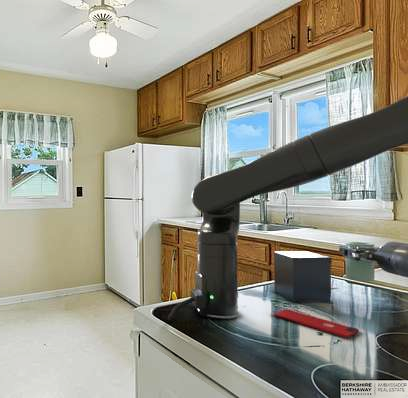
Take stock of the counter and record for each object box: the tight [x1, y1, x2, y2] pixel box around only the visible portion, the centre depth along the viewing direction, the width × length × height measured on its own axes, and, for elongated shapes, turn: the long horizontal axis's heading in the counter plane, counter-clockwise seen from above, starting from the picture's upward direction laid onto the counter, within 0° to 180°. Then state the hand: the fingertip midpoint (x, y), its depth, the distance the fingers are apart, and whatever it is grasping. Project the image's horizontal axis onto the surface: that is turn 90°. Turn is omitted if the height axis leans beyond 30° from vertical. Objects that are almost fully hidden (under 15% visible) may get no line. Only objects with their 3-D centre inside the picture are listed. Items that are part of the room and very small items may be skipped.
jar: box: [345, 241, 375, 282], centre depth 86 cm, size 6×6×10 cm
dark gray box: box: [273, 251, 333, 303], centre depth 91 cm, size 12×10×12 cm
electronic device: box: [273, 308, 360, 339], centre depth 71 cm, size 6×1×15 cm
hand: (352, 249), depth 89 cm, fingers closed on jar, 6 cm apart
